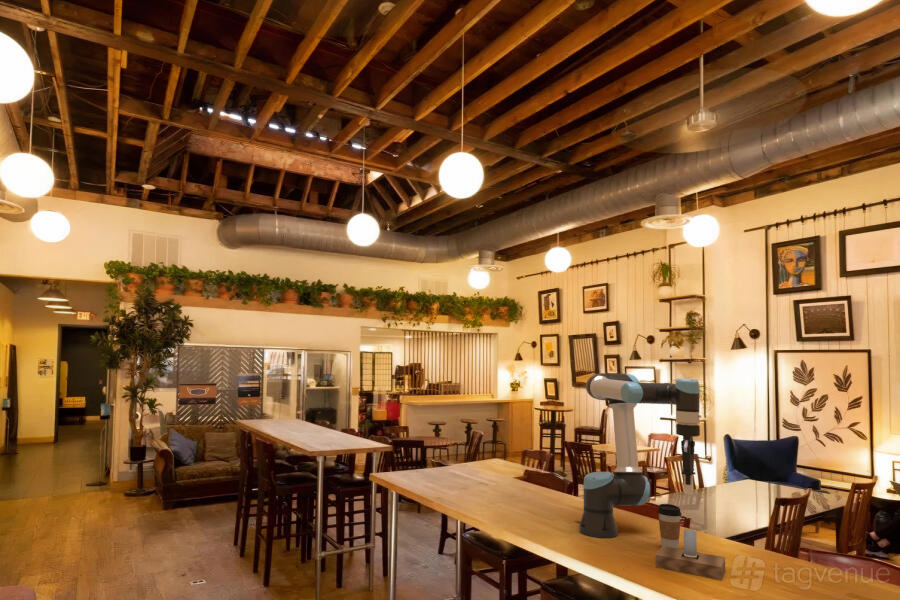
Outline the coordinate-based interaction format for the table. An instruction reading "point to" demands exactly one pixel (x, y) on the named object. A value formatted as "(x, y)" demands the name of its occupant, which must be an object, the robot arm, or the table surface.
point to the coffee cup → (669, 525)
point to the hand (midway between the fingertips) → (688, 494)
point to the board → (691, 563)
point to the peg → (690, 544)
